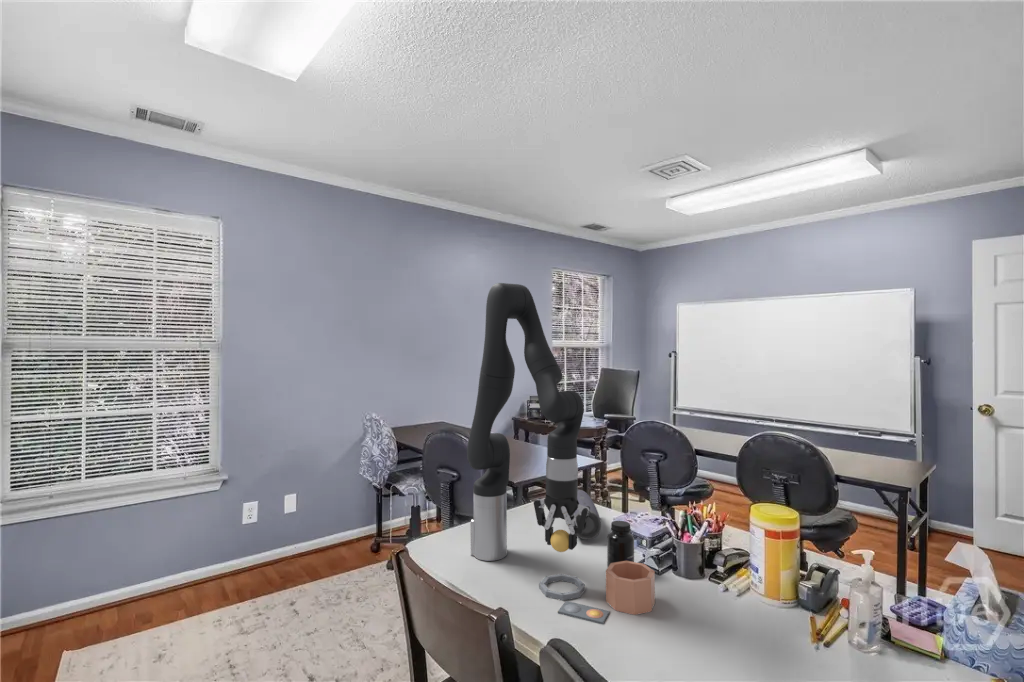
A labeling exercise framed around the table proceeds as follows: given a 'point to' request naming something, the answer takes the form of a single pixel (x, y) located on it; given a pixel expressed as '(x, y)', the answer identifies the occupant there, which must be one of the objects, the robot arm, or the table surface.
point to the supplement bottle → (620, 543)
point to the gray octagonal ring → (558, 594)
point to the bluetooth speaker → (593, 518)
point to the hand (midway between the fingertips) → (561, 545)
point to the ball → (560, 540)
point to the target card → (584, 612)
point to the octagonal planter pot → (630, 587)
